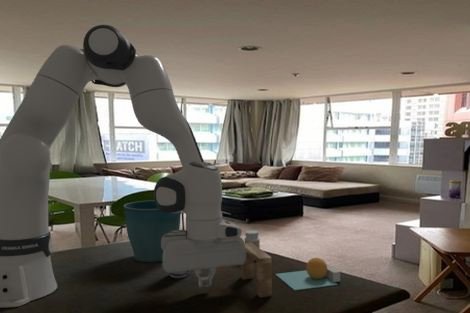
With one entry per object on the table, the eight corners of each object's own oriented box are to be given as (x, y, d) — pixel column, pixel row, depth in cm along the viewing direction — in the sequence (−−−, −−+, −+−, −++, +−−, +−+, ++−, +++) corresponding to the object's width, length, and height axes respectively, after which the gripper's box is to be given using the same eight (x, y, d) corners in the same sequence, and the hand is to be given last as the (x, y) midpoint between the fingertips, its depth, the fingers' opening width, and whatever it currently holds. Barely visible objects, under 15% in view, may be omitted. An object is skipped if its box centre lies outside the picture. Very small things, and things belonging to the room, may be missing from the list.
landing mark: (294, 290, 96) (294, 289, 96) (275, 274, 107) (275, 273, 107) (337, 284, 99) (337, 284, 99) (314, 270, 110) (314, 269, 110)
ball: (320, 286, 101) (308, 271, 100) (310, 279, 106) (298, 264, 105) (335, 272, 102) (323, 256, 101) (324, 265, 107) (313, 251, 106)
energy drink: (185, 279, 104) (185, 234, 104) (166, 277, 105) (166, 233, 105) (191, 272, 109) (191, 230, 109) (173, 271, 110) (173, 229, 110)
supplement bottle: (249, 255, 125) (248, 229, 125) (262, 257, 123) (262, 231, 123) (241, 259, 121) (241, 232, 121) (255, 261, 119) (255, 234, 118)
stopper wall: (333, 282, 101) (333, 272, 101) (318, 272, 109) (318, 263, 108) (340, 281, 102) (340, 271, 101) (324, 271, 109) (324, 262, 109)
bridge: (259, 297, 92) (259, 258, 91) (240, 277, 105) (240, 243, 105) (271, 295, 92) (271, 257, 92) (251, 275, 106) (251, 242, 106)
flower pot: (161, 246, 137) (160, 198, 136) (194, 256, 124) (193, 203, 123) (113, 257, 124) (112, 204, 123) (145, 270, 111) (144, 211, 111)
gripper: (162, 235, 88) (163, 295, 89) (247, 228, 94) (248, 285, 95) (159, 229, 94) (160, 286, 95) (239, 223, 100) (240, 276, 101)
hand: (205, 285), depth 95 cm, fingers closed
